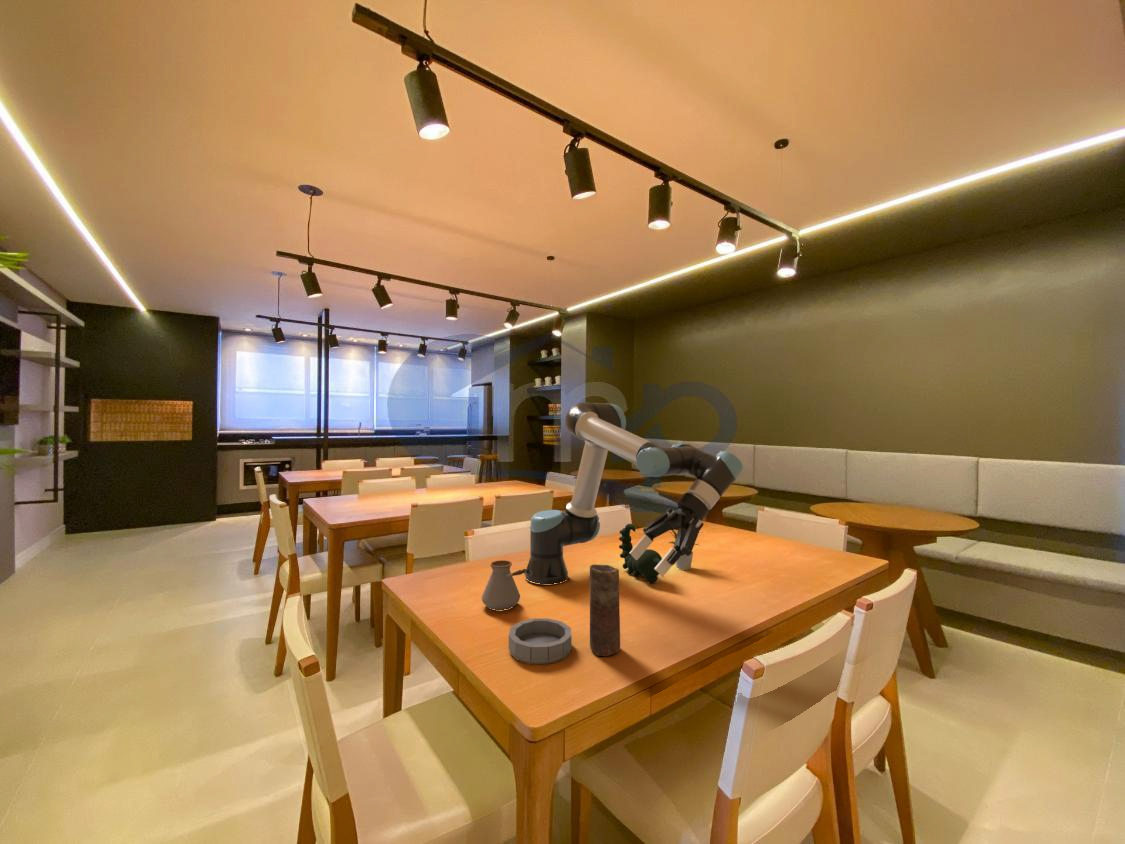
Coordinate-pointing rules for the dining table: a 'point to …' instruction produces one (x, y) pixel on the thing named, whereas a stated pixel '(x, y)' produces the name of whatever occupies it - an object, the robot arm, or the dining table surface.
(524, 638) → the candle dish
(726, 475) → the robot arm
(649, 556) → the toy figurine
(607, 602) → the candle
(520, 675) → the dining table surface
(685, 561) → the house plant
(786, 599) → the dining table surface
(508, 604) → the coffee pot
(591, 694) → the dining table surface
